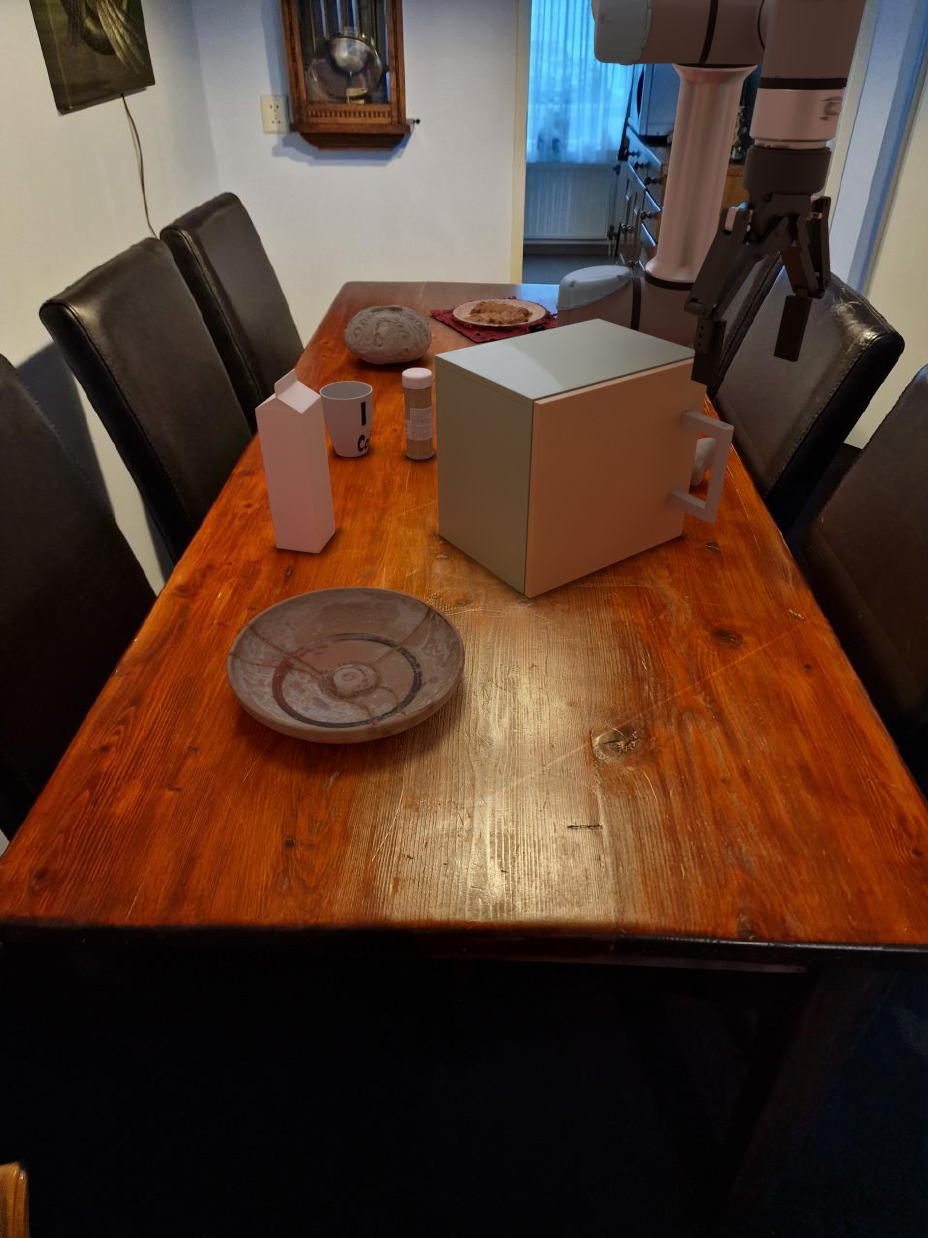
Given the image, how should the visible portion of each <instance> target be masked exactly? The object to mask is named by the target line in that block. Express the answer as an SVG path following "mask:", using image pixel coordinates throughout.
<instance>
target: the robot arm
mask: <svg viewBox="0 0 928 1238" xmlns="http://www.w3.org/2000/svg"><path fill="white" fill-rule="evenodd" d="M866 4H867V0H590V8H591V9H590V10H591V16H592V18H593V22H594V25H593V56H594V58H595V59H596V60H597V61H598V63H602V64H612V65H613V64H614V65H616V64H617V65H619V66H624V67H625V66H627V67H631V66H633V65H664V64H665V65H669V64H670V65H671V66H672V67H673V69H674V71H675V72H676V73H677V75H678V76H679V80H680V82H679V83H680V84H679V91H678V98H677V105H676V112H675V119H674V126H673V134H672V142H671V149H670V154H669V155H670V156H669V162H668V163H669V164H668V170H667V178H666V184H665V190H664V199H663V205H662V214H661V221H660V227H659V234H658V235H659V236H658V243H657V249H656V250H657V251H656V255H655V256H654V257H653V258H652V259H650V260H649V261H648V262H647V263H646V264H645V267H644V274H643V276H642V277H641V276H640V277H639V276H638V277H634V276H633V274H632V272H631V271H632V270H631V269H630V268H629V267H627V266H624V265H613V264H605V265H596V266H595V265H594V266H589V267H584V268H580V269H577V270H574V271H571V272H569V273H568V274H566V275H565V276H563V278H562V279H561V281H560V282H559V284H558V285H559V286H558V293H557V302H556V304H555V309H556V313H557V316H556V317H557V323H556V327H555V328H558V327H562V326H567V325H571V324H576V323H580V322H585V321H589V320H594V319H601V320H604V321H607V322H610V323H613V324H616V325H619V326H622V327H626V328H629V329H632V330H635V331H638V332H641V333H644V334H647V335H650V336H653V337H656V338H659V339H663V340H666V341H669V342H672V343H675V344H678V345H681V346H684V347H687V348H690V349H693V350H694V351H695V355H694V361H693V368H692V374H691V380H693V381H695V382H698V383H701V384H704V385H706V386H707V387H710V388H712V387H715V386H716V385H717V379H718V374H719V369H720V362H721V356H722V351H723V346H724V340H725V334H726V329H727V323H728V320H726V319H722V318H723V316H724V315H725V313H726V312H727V310H728V308H729V306H730V305H731V304H732V302H733V301H734V299H735V298H736V296H737V294H738V293H739V291H740V290H741V288H742V286H743V285H744V283H745V282H746V280H747V279H748V277H749V276H750V274H751V272H752V271H753V269H754V268H755V266H756V265H757V263H759V262H762V261H763V260H764V259H765V258H766V256H767V255H772V254H775V253H776V252H779V254H780V257H781V260H782V263H783V266H784V269H785V272H786V275H787V278H788V282H789V284H790V287H791V291H792V293H793V294H795V295H793V294H789V295H786V296H785V300H784V305H783V309H782V312H781V313H782V314H781V319H780V323H779V328H778V332H777V337H776V341H775V345H774V351H773V355H772V356H773V357H775V358H778V359H781V360H785V361H788V362H792V363H796V362H798V361H799V357H800V353H801V349H802V344H803V342H804V341H803V340H804V336H805V332H806V328H807V325H808V321H809V316H810V313H811V309H812V305H813V300H814V299H816V300H819V301H820V300H822V299H823V298H824V296H825V295H826V290H827V289H829V288H830V285H831V283H832V276H831V275H832V274H831V272H832V271H831V253H830V252H831V251H830V249H831V248H830V230H829V218H830V211H831V206H832V197H831V196H827V195H821V194H818V193H820V192H821V191H822V190H823V189H824V188H825V185H826V181H827V176H828V172H829V168H830V162H831V158H832V154H833V151H832V150H831V148H830V146H827V142H830V141H832V140H833V139H835V137H836V134H837V129H838V125H839V119H840V116H841V112H842V109H843V102H844V96H845V92H846V88H847V85H848V80H849V79H848V78H849V76H850V73H851V68H852V65H853V59H854V55H855V50H856V47H857V43H858V37H859V33H860V29H861V25H862V21H863V16H864V11H865V8H866ZM758 65H762V66H761V72H760V77H759V82H758V87H757V92H756V96H755V101H754V107H753V111H752V112H753V113H752V118H751V124H750V129H749V136H750V138H751V139H752V140H754V144H751V145H750V146H749V148H747V149H746V155H745V162H744V168H743V172H742V178H741V186H742V188H743V189H744V190H745V191H747V194H748V198H747V201H746V202H745V206H744V207H738V206H734V205H725V206H723V208H722V209H721V206H722V202H723V197H724V196H723V195H724V191H725V190H724V189H725V185H726V179H727V175H728V169H729V163H730V157H731V151H732V146H733V140H734V134H735V129H736V123H737V118H738V113H739V107H740V101H741V97H742V92H743V90H742V89H743V86H744V81H745V79H746V78H747V77H748V76H749V75H750V74H751V73H752V72H754V71H755V70H756V69H757V68H758ZM816 273H817V274H816Z"/></svg>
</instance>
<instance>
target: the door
mask: <svg viewBox="0 0 928 1238" xmlns="http://www.w3.org/2000/svg"><path fill="white" fill-rule="evenodd" d="M693 361H694V358H692V359H688V360H685V361H681V362H677V363H674V364H670V365H667V366H663V367H659V368H656V369H652V370H648V371H645V372H641V373H637V374H634V375H630V376H626V377H623V378H619V379H615V380H612V381H608V382H604V383H601V384H597V385H593V386H590V387H586V388H582V389H579V390H575V391H571V392H568V393H564V394H560V395H557V396H553V397H549V398H546V399H542V400H538V401H535V402H534V416H533V437H532V458H531V478H530V499H529V519H528V540H527V560H526V581H525V594H524V596H526V597H527V598H528V599H533V598H535V597H537V596H540V595H542V594H544V593H547V592H549V591H552V590H554V589H556V588H559V587H561V586H563V585H566V584H568V583H570V582H573V581H575V580H577V579H580V578H581V577H582V578H583V577H585V576H587V575H589V574H593V573H594V572H597V571H599V570H601V569H605V568H606V567H608V566H611V565H613V564H615V563H619V562H620V561H623V560H626V559H628V558H630V557H632V556H634V555H637V554H639V553H642V552H644V551H646V550H649V549H652V548H654V547H656V546H659V545H661V544H663V543H667V542H668V541H670V540H673V539H675V538H678V537H680V536H681V535H682V532H683V527H684V521H685V516H686V514H688V515H690V516H693V517H694V518H696V519H698V520H700V521H702V522H705V523H708V524H713V523H715V522H716V521H717V518H718V517H717V516H718V512H719V506H720V501H721V495H722V493H723V492H722V491H723V486H724V483H725V482H724V481H725V478H726V477H725V476H726V470H727V466H728V461H729V456H730V451H731V447H732V446H731V445H732V441H733V436H734V431H735V426H734V425H732V424H729V423H726V422H724V421H721V420H719V419H716V418H715V417H711V416H709V415H707V414H704V413H703V411H704V406H705V400H706V394H707V389H708V386H706V385H704V384H701V383H698V382H695V381H693V380H691V374H692V368H693ZM700 434H702V435H704V436H706V437H708V438H713V439H716V440H717V443H716V449H715V454H714V459H713V463H712V465H711V471H710V476H709V481H708V486H707V492H706V497H705V501H704V500H702V499H700V498H699V497H696V496H694V495H692V494H690V493H689V492H690V486H691V484H690V481H691V475H692V470H693V464H694V458H695V452H696V447H697V441H698V440H699V435H700Z"/></svg>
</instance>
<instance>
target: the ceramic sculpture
mask: <svg viewBox="0 0 928 1238" xmlns="http://www.w3.org/2000/svg"><path fill="white" fill-rule="evenodd" d="M716 443H717V440H716V439H713V438H711V437H703V438H700V439H699V438H698V441H697V447H696V452H695V458H694V464H693V470H692V475H691V481H690V486H692V487H697V486H699V485H700V484H701V482H702V480H703V479H704V477H705V476H706V474H707V472H708V470H709V469H710V468H711V467H712V465H713V459H714V454H715V449H716Z"/></svg>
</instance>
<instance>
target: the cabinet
mask: <svg viewBox="0 0 928 1238" xmlns="http://www.w3.org/2000/svg"><path fill="white" fill-rule="evenodd" d="M694 355H695V351H694V350H693V349H690V348H687V347H684V346H681V345H678V344H675V343H672V342H669V341H666V340H663V339H659V338H656V337H653V336H650V335H647V334H644V333H641V332H638V331H635V330H632V329H629V328H626V327H622V326H619V325H616V324H613V323H610V322H607V321H604V320H601V319H594V320H589V321H585V322H580V323H576V324H571V325H567V326H562V327H558V328H556V327H553V328H550V329H545V330H540V331H536V332H531V333H526V334H523V335H518V336H512V337H507V338H503V339H498V340H494V341H491V342H490V341H489V342H486V343H481V344H477V345H472V346H469V347H464V348H458V349H455V350H450V351H445V352H442V353H436V354H434V385H435V386H434V388H435V390H434V391H435V394H434V395H435V434H436V437H435V438H436V473H437V478H436V479H437V516H438V519H437V520H438V535H439V536H440V537H442V538H443V539H444V540H446V541H448V542H449V543H450V544H452V545H453V546H455V547H456V548H457V549H459V550H460V551H462V552H463V553H464V554H466V555H467V556H469V557H470V558H471V559H473V560H474V561H476V562H477V563H478V564H480V565H481V566H482V567H484V568H485V569H487V570H488V571H490V572H491V573H492V574H494V575H495V576H497V577H498V578H499V579H501V580H502V581H504V582H505V583H506V584H508V585H509V586H511V587H512V588H513V589H515V590H516V591H517V592H519V593H520V594H522V595H525V581H526V560H527V540H528V519H529V499H530V478H531V458H532V437H533V416H534V402H535V401H538V400H542V399H546V398H549V397H553V396H557V395H560V394H564V393H568V392H571V391H575V390H579V389H582V388H586V387H590V386H593V385H597V384H601V383H604V382H608V381H612V380H615V379H619V378H623V377H626V376H630V375H634V374H637V373H641V372H645V371H648V370H652V369H656V368H659V367H663V366H667V365H670V364H674V363H677V362H681V361H685V360H688V359H692V358H694Z"/></svg>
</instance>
